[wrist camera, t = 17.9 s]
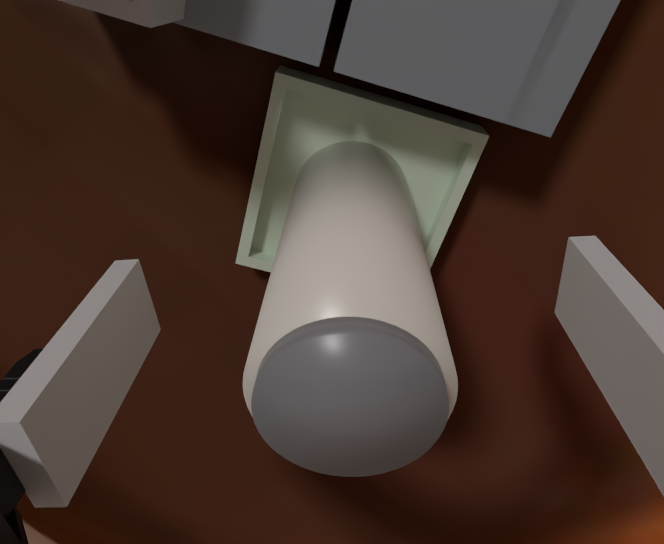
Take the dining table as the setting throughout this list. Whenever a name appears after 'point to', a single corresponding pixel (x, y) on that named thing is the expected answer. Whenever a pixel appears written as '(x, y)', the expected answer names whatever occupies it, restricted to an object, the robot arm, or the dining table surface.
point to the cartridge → (350, 324)
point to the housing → (416, 45)
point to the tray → (355, 125)
